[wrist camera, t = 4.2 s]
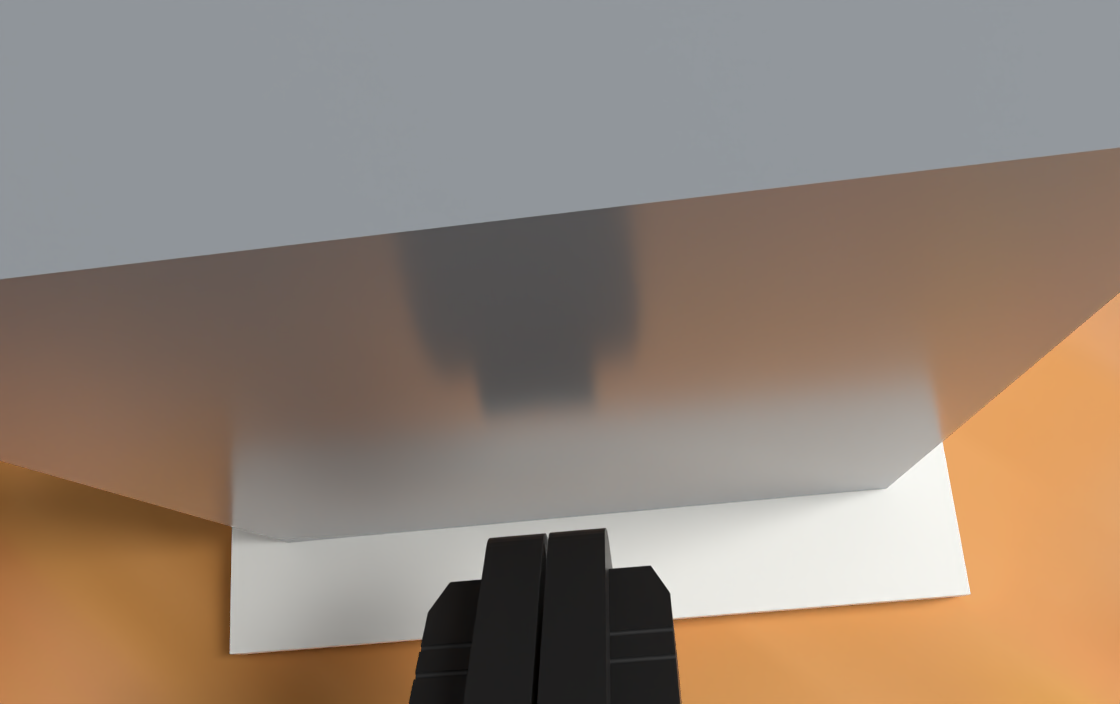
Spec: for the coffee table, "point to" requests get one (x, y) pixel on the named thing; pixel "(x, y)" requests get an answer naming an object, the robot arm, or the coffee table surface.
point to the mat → (617, 562)
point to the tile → (535, 246)
